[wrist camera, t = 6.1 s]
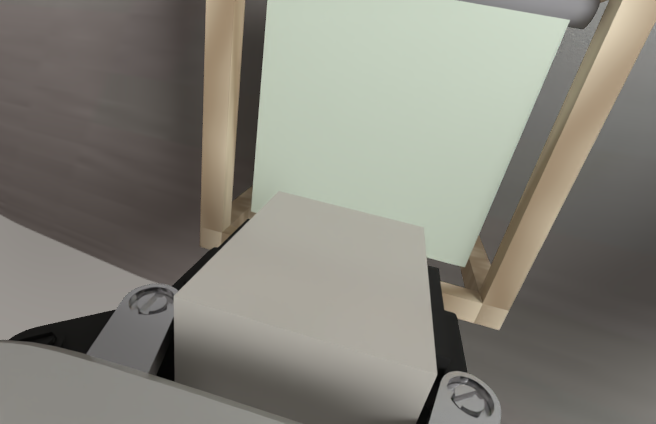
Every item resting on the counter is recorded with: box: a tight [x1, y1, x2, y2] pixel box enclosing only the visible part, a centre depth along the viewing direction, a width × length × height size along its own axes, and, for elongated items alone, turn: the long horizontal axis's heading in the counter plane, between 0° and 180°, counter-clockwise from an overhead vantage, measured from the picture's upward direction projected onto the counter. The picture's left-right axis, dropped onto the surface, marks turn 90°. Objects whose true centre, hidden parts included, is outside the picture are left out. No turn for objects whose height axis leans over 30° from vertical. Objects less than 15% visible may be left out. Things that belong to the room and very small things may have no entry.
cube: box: [174, 191, 437, 424], centre depth 10 cm, size 5×5×6 cm
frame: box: [200, 0, 656, 330], centre depth 23 cm, size 20×20×12 cm
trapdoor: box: [251, 0, 600, 267], centre depth 20 cm, size 16×15×1 cm
